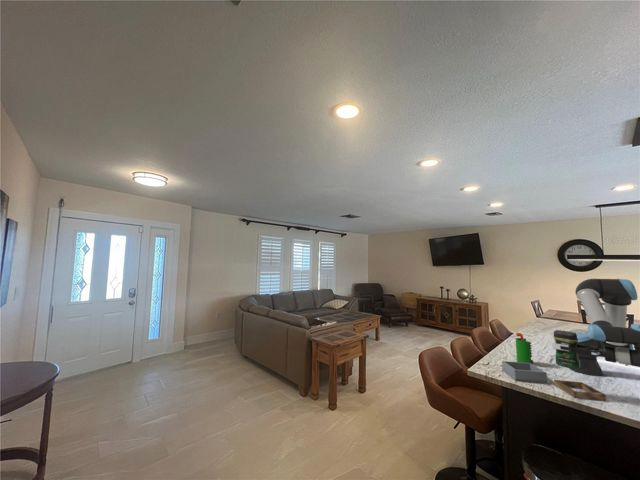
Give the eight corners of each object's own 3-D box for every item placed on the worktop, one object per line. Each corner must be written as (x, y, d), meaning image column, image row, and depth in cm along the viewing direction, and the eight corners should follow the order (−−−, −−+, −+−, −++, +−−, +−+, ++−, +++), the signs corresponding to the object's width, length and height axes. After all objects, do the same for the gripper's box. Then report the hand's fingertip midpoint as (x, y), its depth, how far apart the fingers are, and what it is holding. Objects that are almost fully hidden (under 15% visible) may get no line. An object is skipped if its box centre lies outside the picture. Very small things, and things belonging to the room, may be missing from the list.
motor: (537, 366, 173) (534, 335, 176) (522, 364, 175) (519, 334, 178) (528, 361, 183) (525, 332, 186) (514, 360, 185) (511, 331, 187)
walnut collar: (582, 387, 140) (581, 382, 140) (606, 401, 125) (605, 394, 126) (554, 385, 143) (554, 379, 143) (574, 397, 128) (574, 391, 129)
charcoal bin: (531, 373, 160) (530, 363, 161) (547, 383, 145) (546, 372, 146) (502, 370, 164) (501, 360, 164) (515, 380, 148) (514, 369, 149)
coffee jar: (554, 365, 139) (550, 330, 142) (558, 362, 144) (554, 328, 146) (579, 371, 131) (575, 333, 134) (582, 367, 136) (578, 331, 138)
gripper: (616, 367, 118) (550, 354, 136) (618, 358, 131) (558, 348, 149) (613, 350, 119) (549, 340, 137) (616, 343, 132) (557, 334, 149)
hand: (554, 344), depth 143 cm, fingers closed on coffee jar, 8 cm apart
